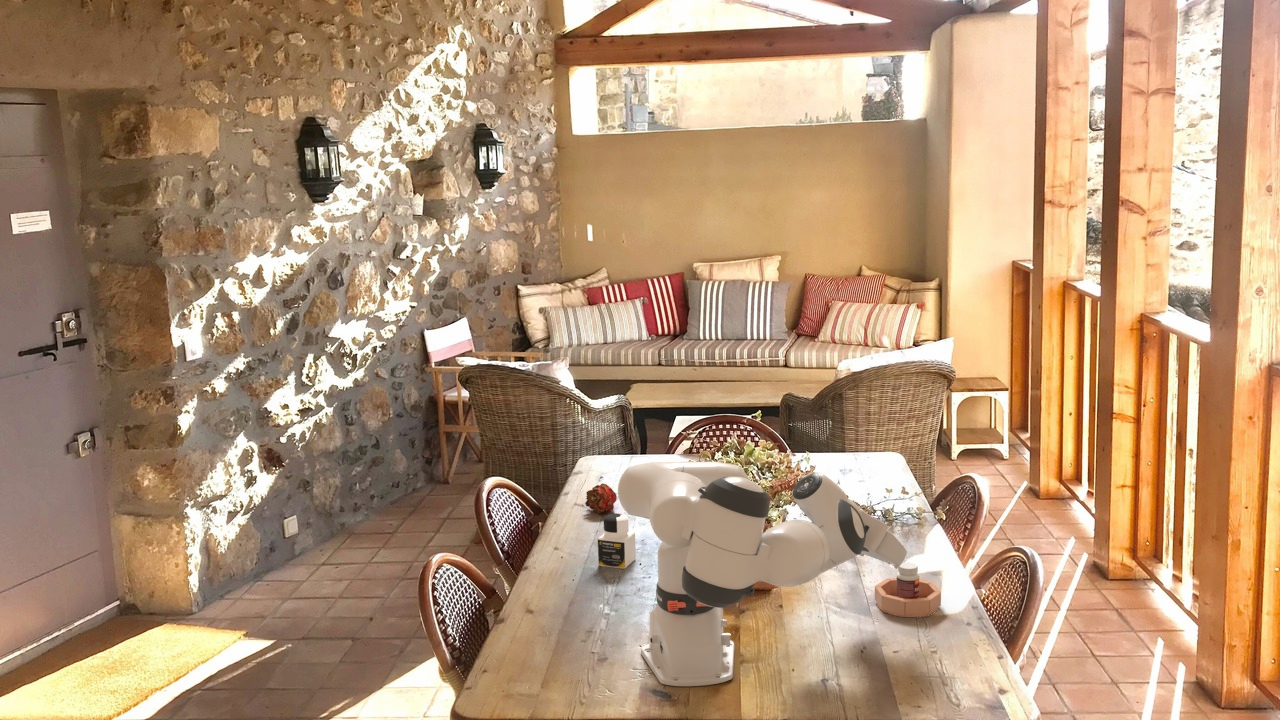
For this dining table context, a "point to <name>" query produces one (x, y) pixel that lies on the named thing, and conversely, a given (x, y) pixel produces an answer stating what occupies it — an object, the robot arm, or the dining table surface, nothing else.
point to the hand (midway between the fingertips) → (879, 558)
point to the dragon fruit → (601, 498)
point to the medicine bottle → (616, 543)
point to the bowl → (907, 607)
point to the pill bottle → (908, 581)
